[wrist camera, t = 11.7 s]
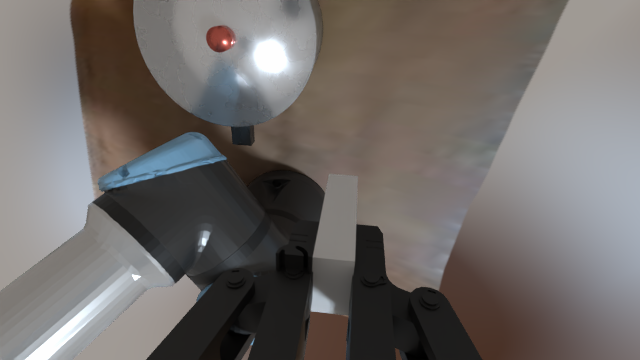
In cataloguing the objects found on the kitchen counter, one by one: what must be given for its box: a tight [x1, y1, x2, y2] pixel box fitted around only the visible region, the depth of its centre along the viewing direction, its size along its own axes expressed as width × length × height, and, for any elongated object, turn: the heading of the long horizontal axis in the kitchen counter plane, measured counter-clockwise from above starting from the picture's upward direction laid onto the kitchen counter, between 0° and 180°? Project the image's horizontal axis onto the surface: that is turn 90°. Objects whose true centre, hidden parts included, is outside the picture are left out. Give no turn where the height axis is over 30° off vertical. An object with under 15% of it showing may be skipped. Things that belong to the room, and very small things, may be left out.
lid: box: [133, 0, 318, 127], centre depth 33 cm, size 24×19×5 cm
